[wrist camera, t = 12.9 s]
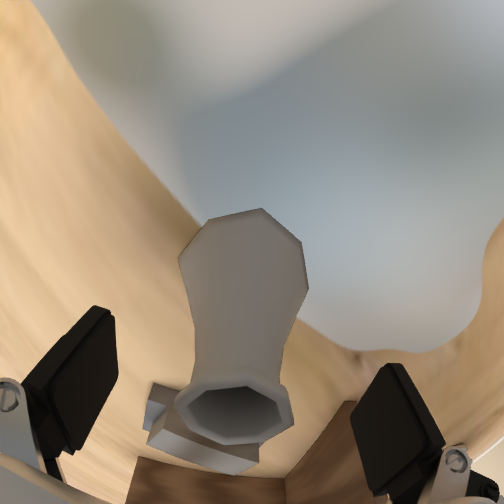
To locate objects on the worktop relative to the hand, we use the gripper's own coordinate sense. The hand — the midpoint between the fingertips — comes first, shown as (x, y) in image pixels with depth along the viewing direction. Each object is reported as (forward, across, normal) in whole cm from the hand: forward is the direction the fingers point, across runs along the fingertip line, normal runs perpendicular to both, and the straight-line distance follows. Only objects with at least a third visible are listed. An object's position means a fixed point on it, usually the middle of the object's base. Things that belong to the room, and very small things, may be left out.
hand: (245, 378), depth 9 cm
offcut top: (+6, +1, +14) cm, 15 cm away
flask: (+8, 0, 0) cm, 8 cm away
